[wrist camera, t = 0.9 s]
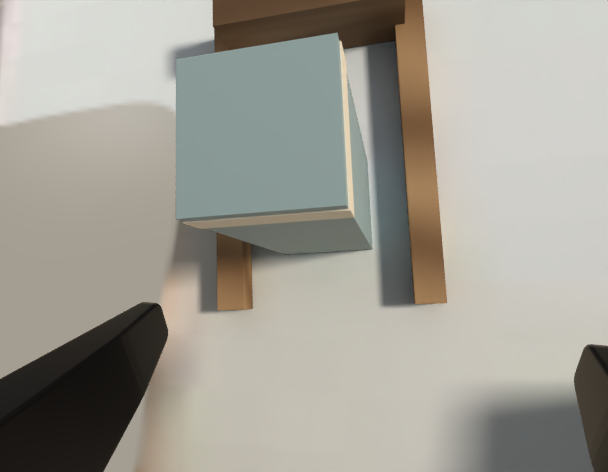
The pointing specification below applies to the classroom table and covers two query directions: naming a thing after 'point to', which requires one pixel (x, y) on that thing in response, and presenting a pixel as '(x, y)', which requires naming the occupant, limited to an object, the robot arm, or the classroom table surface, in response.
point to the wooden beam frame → (413, 106)
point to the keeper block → (272, 147)
